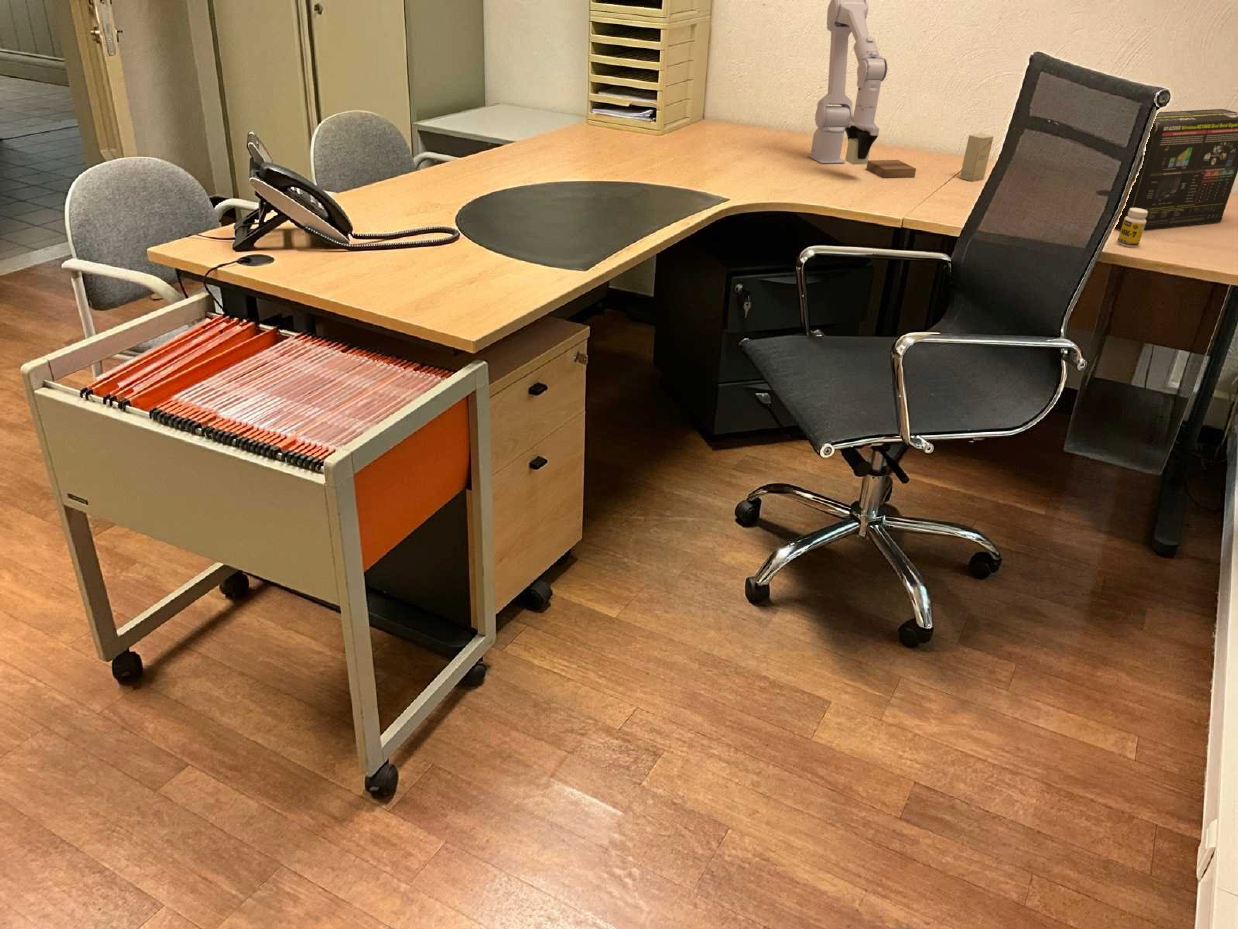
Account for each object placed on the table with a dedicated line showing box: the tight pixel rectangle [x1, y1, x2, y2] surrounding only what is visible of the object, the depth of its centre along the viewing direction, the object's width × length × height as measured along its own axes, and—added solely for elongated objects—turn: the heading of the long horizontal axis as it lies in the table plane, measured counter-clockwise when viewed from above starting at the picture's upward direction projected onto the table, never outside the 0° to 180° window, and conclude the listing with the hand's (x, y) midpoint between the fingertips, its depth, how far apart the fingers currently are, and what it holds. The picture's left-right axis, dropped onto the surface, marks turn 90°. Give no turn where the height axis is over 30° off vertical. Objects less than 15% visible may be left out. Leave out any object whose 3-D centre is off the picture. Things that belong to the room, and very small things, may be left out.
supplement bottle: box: [1116, 208, 1148, 248], centre depth 234 cm, size 5×5×8 cm
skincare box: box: [959, 133, 994, 182], centre depth 281 cm, size 6×4×12 cm
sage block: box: [844, 138, 871, 166], centre depth 274 cm, size 4×4×6 cm
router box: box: [1114, 108, 1238, 231], centre depth 248 cm, size 36×11×27 cm, turn 114°
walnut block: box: [866, 159, 917, 180], centre depth 284 cm, size 10×10×3 cm
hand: (857, 156), depth 275 cm, fingers closed on sage block, 4 cm apart
